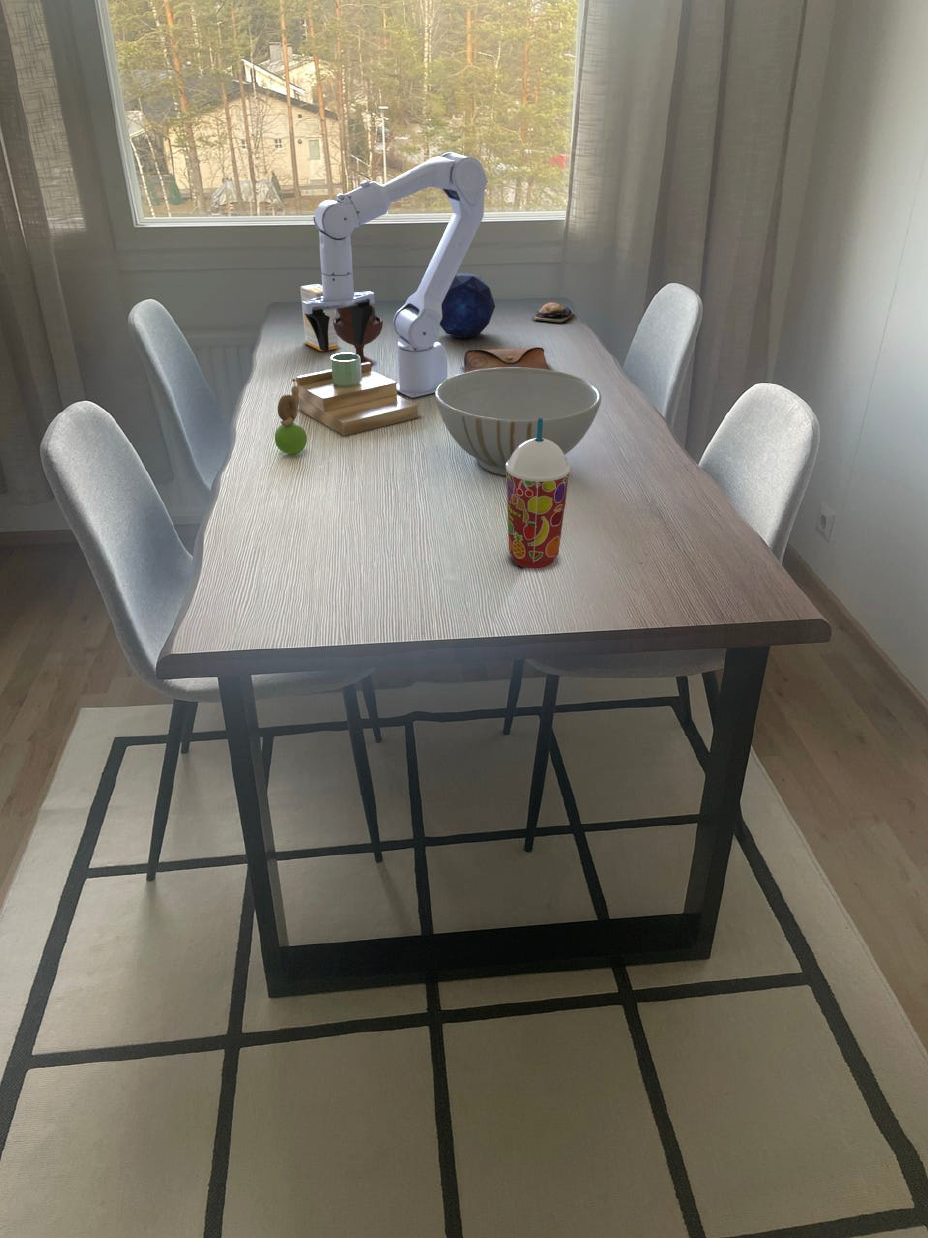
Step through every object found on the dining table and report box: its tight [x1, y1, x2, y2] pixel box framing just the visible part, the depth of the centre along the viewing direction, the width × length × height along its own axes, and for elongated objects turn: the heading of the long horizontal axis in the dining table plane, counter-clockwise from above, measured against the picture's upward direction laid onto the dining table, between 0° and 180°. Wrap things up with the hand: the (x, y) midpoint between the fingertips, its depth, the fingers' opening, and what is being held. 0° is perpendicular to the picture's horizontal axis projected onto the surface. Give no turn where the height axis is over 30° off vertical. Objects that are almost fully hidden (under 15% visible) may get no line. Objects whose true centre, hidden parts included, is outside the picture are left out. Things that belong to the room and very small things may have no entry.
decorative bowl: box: [434, 367, 602, 476], centre depth 152 cm, size 27×27×12 cm
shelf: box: [295, 362, 419, 437], centre depth 173 cm, size 17×16×6 cm
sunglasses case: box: [463, 346, 550, 373], centre depth 198 cm, size 18×7×7 cm
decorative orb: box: [439, 271, 496, 340], centre depth 218 cm, size 14×15×15 cm
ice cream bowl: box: [333, 304, 384, 366], centre depth 198 cm, size 11×11×15 cm
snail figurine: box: [274, 378, 308, 455], centre depth 155 cm, size 5×6×12 cm
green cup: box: [329, 352, 362, 387], centre depth 173 cm, size 6×6×5 cm
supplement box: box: [299, 283, 339, 352], centre depth 210 cm, size 8×5×13 cm, turn 34°
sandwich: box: [533, 302, 573, 323], centre depth 235 cm, size 11×8×4 cm
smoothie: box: [505, 418, 572, 570], centre depth 121 cm, size 8×8×20 cm
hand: (341, 346), depth 176 cm, fingers open, 7 cm apart
